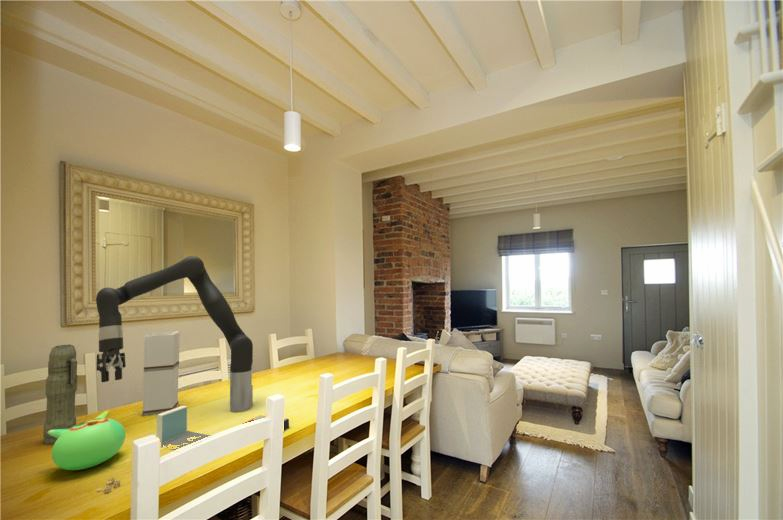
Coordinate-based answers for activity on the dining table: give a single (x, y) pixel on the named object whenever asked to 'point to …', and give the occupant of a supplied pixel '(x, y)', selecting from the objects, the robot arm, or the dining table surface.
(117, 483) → the dice set
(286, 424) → the calculator
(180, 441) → the tile mat
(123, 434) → the green eared figurine
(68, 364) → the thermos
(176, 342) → the grooved grey pillar
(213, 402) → the dining table surface
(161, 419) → the tile
